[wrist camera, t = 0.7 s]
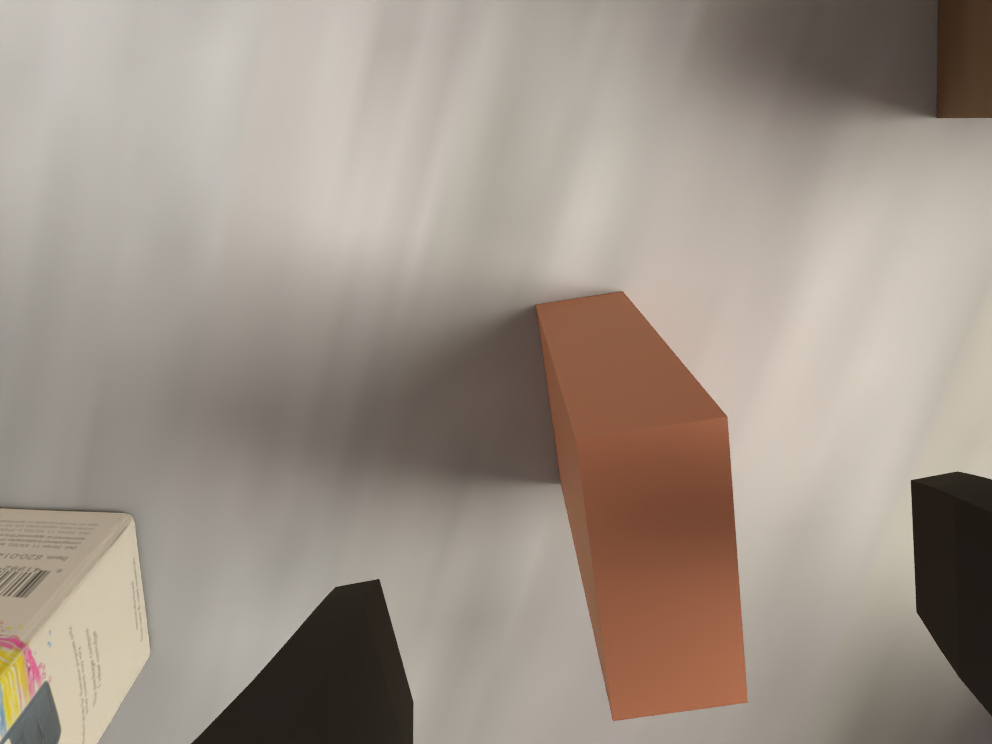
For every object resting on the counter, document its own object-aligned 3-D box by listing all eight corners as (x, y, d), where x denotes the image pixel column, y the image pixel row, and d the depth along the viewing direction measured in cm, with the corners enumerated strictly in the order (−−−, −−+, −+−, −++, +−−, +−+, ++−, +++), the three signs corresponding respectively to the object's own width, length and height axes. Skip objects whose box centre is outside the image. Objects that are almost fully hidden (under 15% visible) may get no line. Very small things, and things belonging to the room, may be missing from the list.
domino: (622, 291, 20) (727, 416, 12) (642, 472, 22) (748, 702, 13) (535, 304, 20) (575, 439, 12) (560, 483, 22) (613, 721, 13)
